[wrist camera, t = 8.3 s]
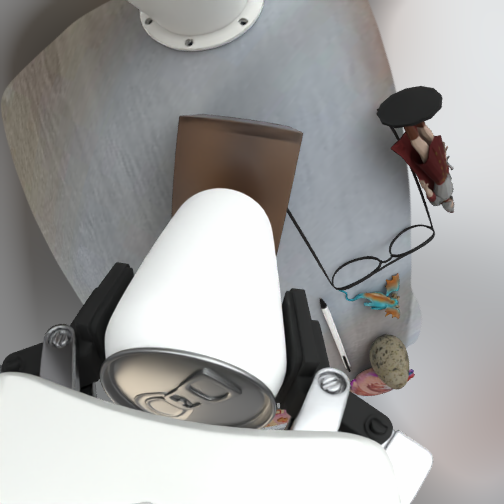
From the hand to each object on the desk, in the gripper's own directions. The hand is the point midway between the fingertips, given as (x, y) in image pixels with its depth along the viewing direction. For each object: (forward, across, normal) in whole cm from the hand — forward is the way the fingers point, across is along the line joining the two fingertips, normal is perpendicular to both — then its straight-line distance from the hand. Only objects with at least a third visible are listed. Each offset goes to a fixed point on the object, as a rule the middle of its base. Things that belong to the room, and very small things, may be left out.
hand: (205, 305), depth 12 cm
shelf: (+19, 0, 0) cm, 19 cm away
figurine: (+13, -13, -12) cm, 23 cm away
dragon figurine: (+19, -20, +11) cm, 30 cm away
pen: (+19, -18, +20) cm, 33 cm away
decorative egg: (+19, -26, +20) cm, 38 cm away
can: (+7, 0, 0) cm, 7 cm away
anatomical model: (+17, -23, +28) cm, 40 cm away
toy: (+18, -10, +46) cm, 51 cm away
